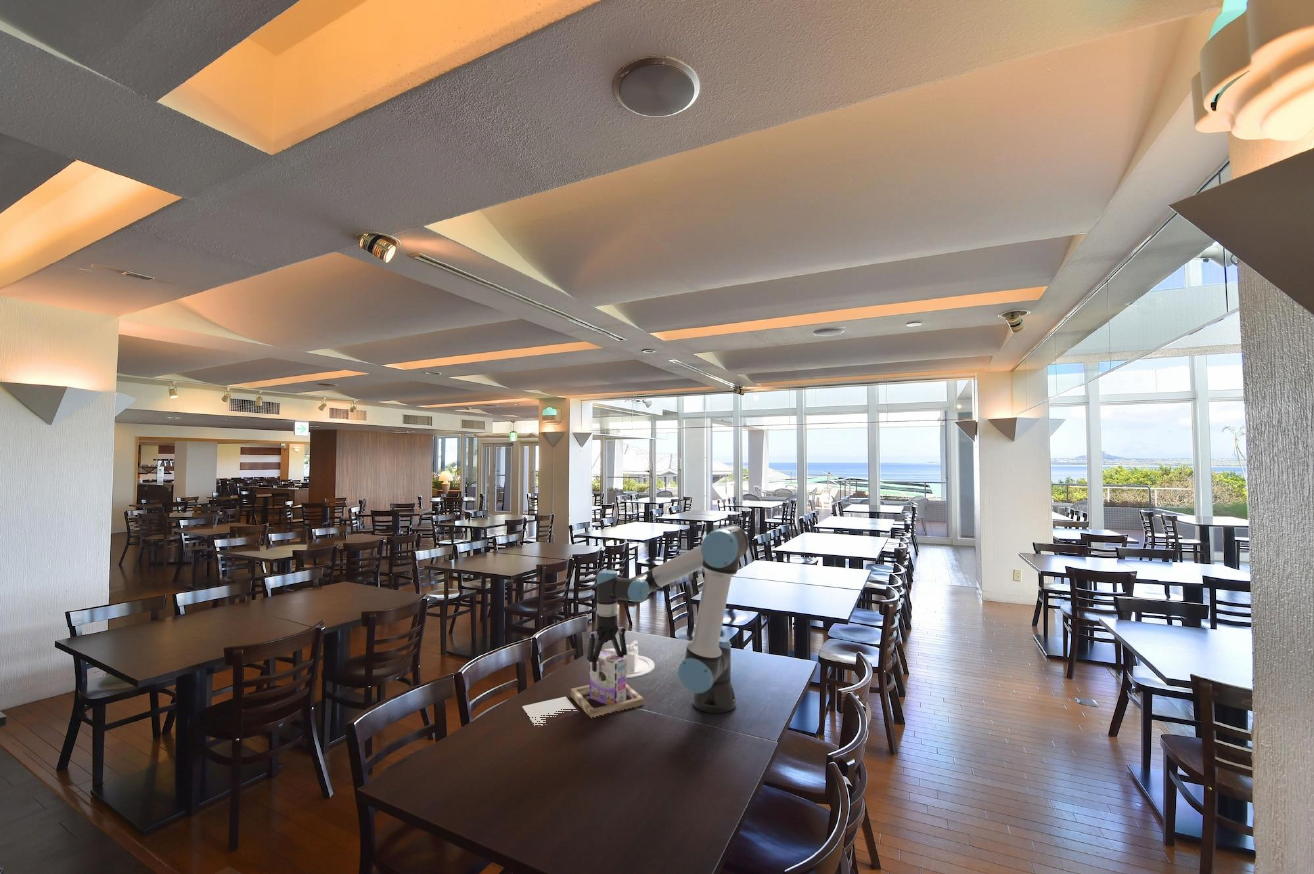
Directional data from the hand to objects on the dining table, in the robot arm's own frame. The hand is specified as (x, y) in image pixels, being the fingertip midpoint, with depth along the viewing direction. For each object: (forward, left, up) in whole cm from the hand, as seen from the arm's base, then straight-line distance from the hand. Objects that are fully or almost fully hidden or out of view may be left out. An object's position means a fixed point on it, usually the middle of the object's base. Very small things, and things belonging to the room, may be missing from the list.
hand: (607, 677), depth 193 cm
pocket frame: (0, 0, -9) cm, 9 cm away
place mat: (0, +20, -9) cm, 22 cm away
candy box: (0, 0, -9) cm, 9 cm away
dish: (+26, -20, -9) cm, 34 cm away
